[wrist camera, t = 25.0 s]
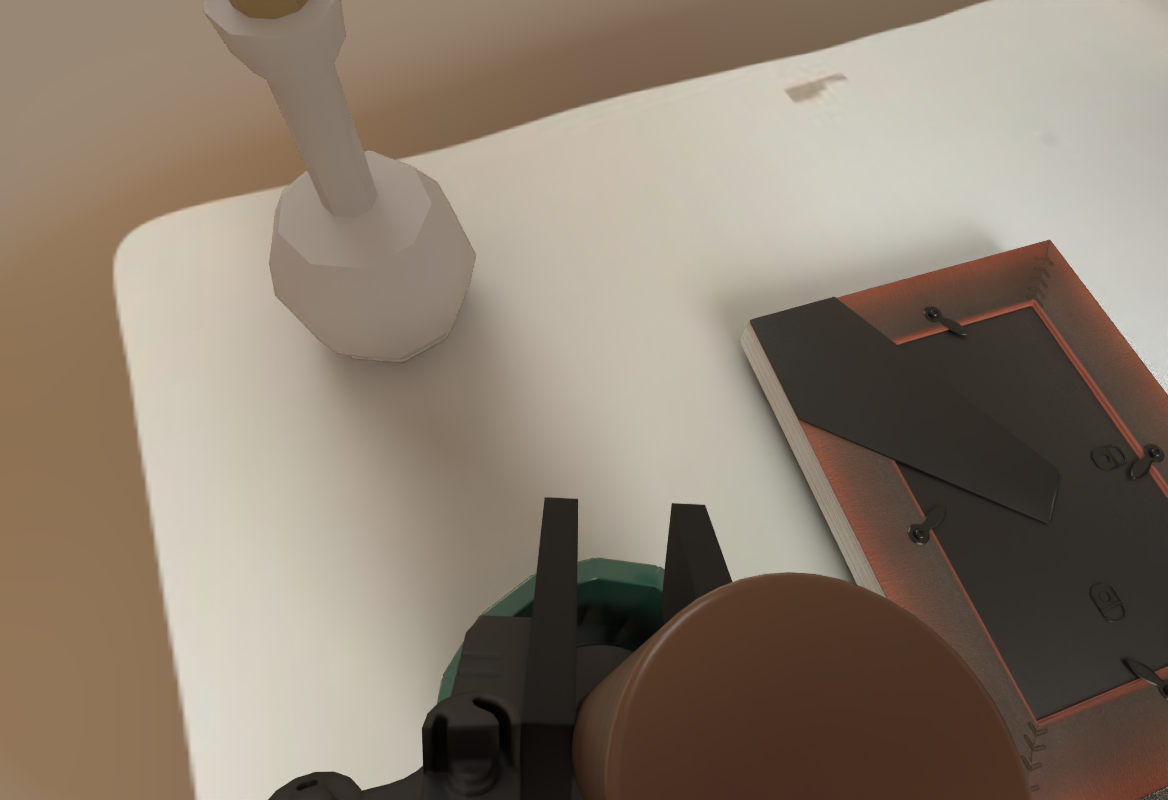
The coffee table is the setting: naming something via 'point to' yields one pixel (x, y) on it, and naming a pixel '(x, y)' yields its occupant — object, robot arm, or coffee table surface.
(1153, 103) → the coffee table surface
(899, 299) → the picture frame
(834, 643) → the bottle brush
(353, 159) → the potion bottle
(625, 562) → the green cylindrical container
